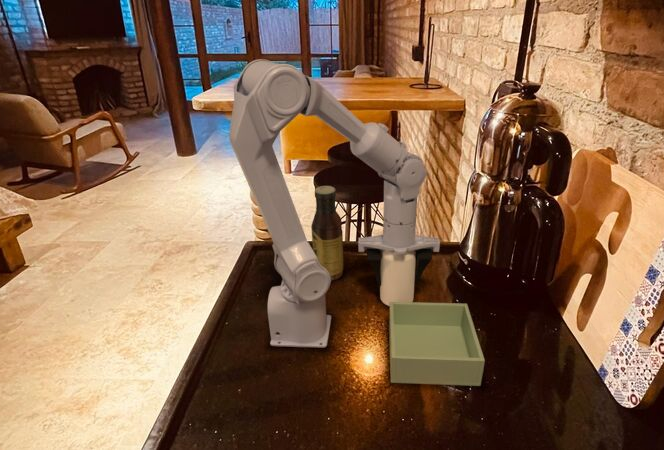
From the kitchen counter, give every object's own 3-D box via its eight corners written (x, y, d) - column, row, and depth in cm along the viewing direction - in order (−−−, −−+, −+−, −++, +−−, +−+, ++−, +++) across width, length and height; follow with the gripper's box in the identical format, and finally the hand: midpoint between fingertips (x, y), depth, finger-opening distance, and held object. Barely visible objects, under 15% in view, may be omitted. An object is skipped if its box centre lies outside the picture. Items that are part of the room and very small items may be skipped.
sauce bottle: (318, 265, 90) (313, 181, 81) (345, 267, 89) (343, 182, 81) (311, 282, 84) (305, 194, 76) (341, 284, 84) (338, 195, 75)
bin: (390, 382, 61) (391, 357, 58) (388, 324, 72) (389, 301, 70) (480, 386, 60) (485, 360, 58) (463, 326, 72) (467, 303, 69)
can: (412, 310, 75) (415, 254, 70) (377, 307, 77) (378, 251, 72) (414, 291, 81) (417, 237, 76) (382, 288, 82) (382, 235, 77)
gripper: (358, 228, 68) (358, 295, 74) (445, 228, 67) (438, 295, 73) (358, 210, 74) (358, 273, 80) (438, 210, 74) (432, 273, 80)
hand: (396, 282), depth 77 cm, fingers closed on can, 6 cm apart
